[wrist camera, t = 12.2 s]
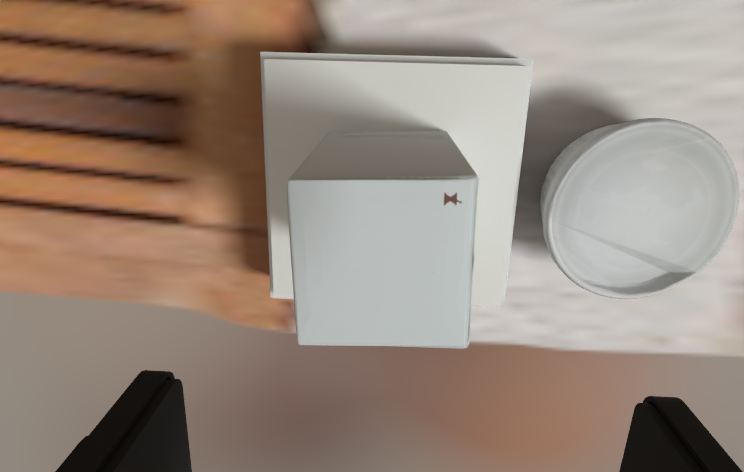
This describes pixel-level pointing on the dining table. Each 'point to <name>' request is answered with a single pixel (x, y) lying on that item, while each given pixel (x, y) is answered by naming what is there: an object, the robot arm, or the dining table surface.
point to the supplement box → (383, 240)
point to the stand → (400, 113)
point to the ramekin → (638, 206)
